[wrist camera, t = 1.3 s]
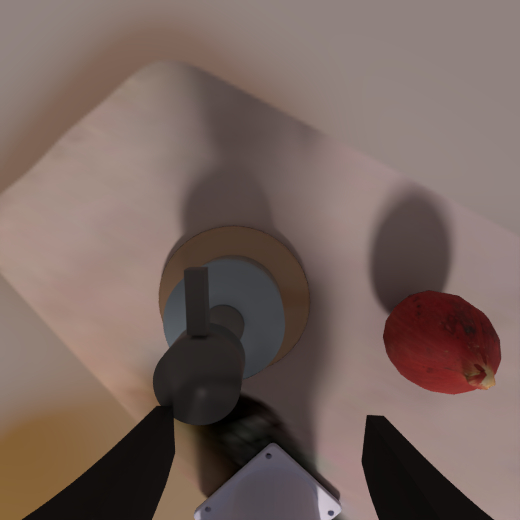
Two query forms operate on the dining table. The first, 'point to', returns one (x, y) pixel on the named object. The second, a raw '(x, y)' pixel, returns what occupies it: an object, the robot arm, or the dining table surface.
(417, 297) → the red round fruit
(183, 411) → the pump head
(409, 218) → the dining table surface
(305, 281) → the dispenser
